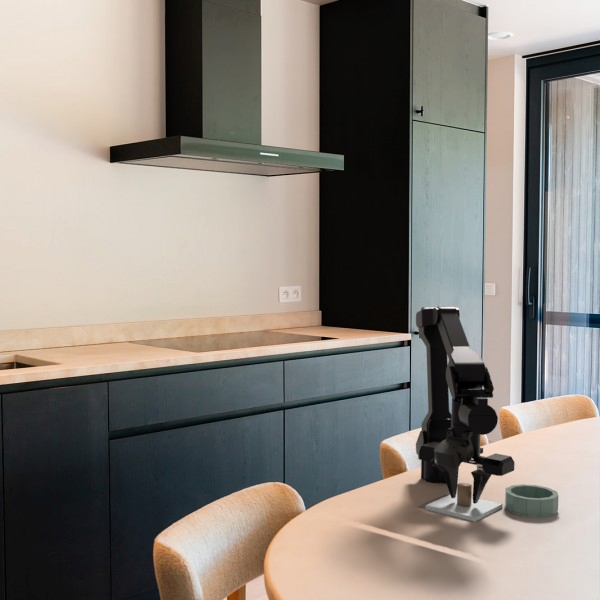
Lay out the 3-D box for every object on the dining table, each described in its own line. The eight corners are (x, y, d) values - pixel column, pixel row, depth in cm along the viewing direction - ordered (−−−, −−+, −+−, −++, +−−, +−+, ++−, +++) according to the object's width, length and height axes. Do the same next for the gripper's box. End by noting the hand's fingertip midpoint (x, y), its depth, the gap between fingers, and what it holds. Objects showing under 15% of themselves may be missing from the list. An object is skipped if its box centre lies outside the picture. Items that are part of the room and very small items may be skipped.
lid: (425, 509, 163) (426, 485, 163) (454, 496, 172) (454, 473, 171) (475, 521, 156) (475, 496, 156) (502, 507, 164) (502, 484, 164)
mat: (417, 509, 165) (417, 506, 165) (445, 497, 173) (445, 494, 173) (474, 524, 156) (475, 521, 156) (502, 510, 165) (502, 507, 164)
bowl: (496, 512, 164) (496, 492, 163) (519, 500, 171) (519, 481, 171) (544, 523, 157) (544, 503, 157) (565, 511, 165) (566, 491, 164)
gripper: (403, 422, 163) (402, 500, 164) (488, 437, 151) (487, 521, 152) (433, 414, 171) (432, 487, 172) (516, 427, 159) (514, 507, 160)
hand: (464, 500), depth 164 cm, fingers open, 5 cm apart
